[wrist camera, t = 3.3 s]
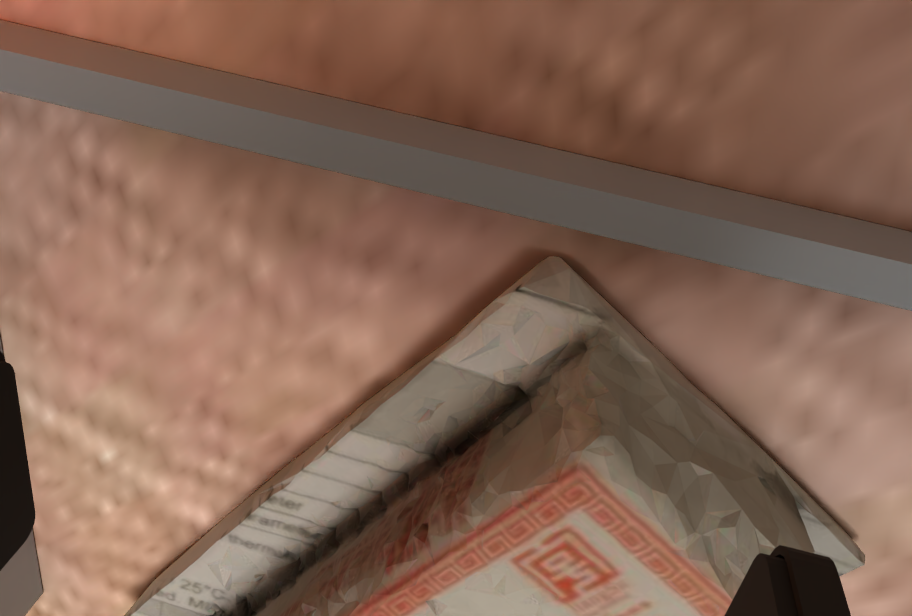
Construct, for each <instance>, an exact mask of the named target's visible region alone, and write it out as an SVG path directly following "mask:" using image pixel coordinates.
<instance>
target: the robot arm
mask: <svg viewBox="0 0 912 616" xmlns="http://www.w3.org/2000/svg"><path fill="white" fill-rule="evenodd" d="M34 521H35V508H34V501H33V494H32V488H31V481H30V474H29V467H28V460H27V454H26V447H25V440H24V433H23V427H22V420H21V413H20V406H19V399H18V393H17V386H16V379H15V373H14V369H13V367H12V366H11V365H10V364H9V363H6V361H5V358H4V355H3V353H2V352H1V351H0V571H1V570H2V568H3V567H4V566H5V565H6V564H7V563H8V561H9V560H10V559H11V558H12V557H13V556H14V554H15V553H16V552H17V551H18V550H19V549H20V547H21V546H22V545H23V544H24V542H25V541H26V540H27V538H28V537H29V535H30V533H31V531H32V528H33V525H34ZM725 616H851V615H850V611H849V608H848V605H847V601H846V598H845V594H844V591H843V588H842V584H841V581H840V577H839V574H838V571H837V568H836V566H835V563H834V561H833V560H832V559H831V558H830V557H826V556H822V555H818V554H814V553H810V552H807V551H803V550H799V549H795V548H791V547H787V546H781V545H779V546H777V547H776V548H775V549H774V550H773V552H772V553H771V554H770V555H767V554H763V553H759V554H758V555H757V556H756V557H755V559H754V560H753V562H752V564H751V566H750V568H749V570H748V572H747V574H746V575H745V577H744V579H743V581H742V583H741V585H740V587H739V589H738V591H737V593H736V595H735V596H734V598H733V600H732V602H731V604H730V606H729V608H728V610H727V612H726V614H725Z"/></svg>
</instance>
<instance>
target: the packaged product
mask: <svg viewBox="0 0 912 616" xmlns="http://www.w3.org/2000/svg"><path fill="white" fill-rule="evenodd" d="M779 545H781V546H787V547H791V548H795V549H799V550H803V551H807V552H810V553H814V554H818V555H822V556H826V557H830V558H831V559H832V560H833V561H834V563H835V566H836V568H837V571H838V574H839V576H841V575H843V574H846V573H848V572H850V571H852V570H854V569H856V568H858V567H860V566H862V565H864V563H865V555H864V553H863V552H862V551H861V550H860V548H859V547H858V546H857V545H856V544H855V542H854V541H853V540H852V539H851V537H850V536H849V535H848V534H847V533H846V532H845V531H844V530H843V529H842V528H841V527H840V526H839V525H838V524H837V523H836V522H835V521H834V520H833V519H832V518H831V517H830V516H829V515H828V514H827V513H826V512H825V511H824V510H823V509H822V508H821V507H820V506H819V505H818V504H817V503H816V502H815V501H814V500H813V499H812V498H811V497H810V496H809V495H808V494H807V493H806V492H805V491H804V490H803V489H802V488H801V487H800V486H799V485H798V484H797V483H796V482H795V481H794V480H793V479H792V478H791V477H790V476H789V475H788V474H787V473H786V472H785V471H784V470H783V469H782V468H781V467H780V466H779V465H778V464H777V463H776V462H775V461H774V460H773V459H772V458H770V457H769V456H768V455H767V454H766V453H765V452H764V451H763V450H762V449H761V448H760V447H759V446H758V445H757V444H756V443H755V442H754V441H753V440H752V439H751V438H750V437H749V436H748V435H747V434H746V433H745V432H744V431H743V430H742V429H741V428H740V427H739V426H738V425H737V424H736V423H734V422H733V421H732V420H731V419H730V418H729V417H728V416H727V415H726V414H725V413H724V412H723V411H722V410H721V409H720V408H719V407H718V406H717V405H716V404H714V403H713V402H712V401H711V400H710V399H709V398H707V397H706V396H705V395H704V394H703V393H702V392H701V391H699V390H698V389H697V388H696V387H695V386H694V385H692V384H691V383H690V382H689V381H688V380H687V379H686V378H685V377H684V376H683V375H682V374H681V373H680V372H679V371H678V370H677V368H676V367H675V366H674V365H673V364H672V363H671V362H670V361H669V360H668V359H667V358H666V357H665V356H664V355H663V354H662V353H661V352H660V351H659V350H658V349H657V348H656V347H655V346H653V345H652V344H651V343H650V342H649V341H648V340H647V339H646V338H645V337H644V336H643V335H642V334H641V333H640V332H639V331H638V330H636V329H635V328H634V327H633V326H632V325H631V324H630V323H629V322H628V321H627V320H626V319H625V318H624V317H623V316H622V315H621V314H620V313H618V312H617V311H616V310H615V309H614V308H613V307H612V306H611V305H610V304H609V303H608V302H607V301H606V300H605V299H604V298H603V297H601V296H600V295H599V294H598V293H597V292H596V291H595V290H594V289H593V288H592V287H591V286H590V285H589V284H588V283H587V282H586V281H585V280H583V279H582V278H581V277H580V276H579V275H578V274H577V273H576V272H575V271H574V270H573V269H572V268H571V267H570V266H569V265H568V264H566V263H565V262H564V261H563V260H562V259H561V258H560V257H553V256H549V257H547V258H546V259H544V260H543V261H541V262H540V263H539V264H537V265H536V266H535V267H534V268H532V269H531V270H530V271H529V272H528V273H526V274H525V275H524V276H523V277H522V278H520V279H519V280H518V281H517V282H515V283H514V284H513V285H512V286H511V287H509V288H508V289H507V290H506V291H505V292H503V293H502V294H501V295H500V296H499V297H497V298H496V299H495V300H494V301H493V302H491V303H490V304H489V305H488V306H487V307H486V308H485V309H483V310H482V311H481V312H480V313H479V314H478V315H477V316H476V317H474V318H473V319H472V320H471V321H470V322H469V323H468V324H467V325H466V326H465V327H463V328H462V329H461V330H460V331H459V332H458V333H457V334H456V335H455V336H453V337H452V338H451V339H449V340H448V341H447V342H445V343H444V344H442V345H441V346H440V347H438V348H437V349H436V350H434V351H433V352H432V353H430V354H429V355H428V356H426V357H425V358H424V359H422V360H421V361H420V362H418V363H417V364H416V365H414V366H413V367H411V368H410V369H409V370H407V371H406V372H405V373H403V374H402V375H401V376H399V377H398V378H397V379H395V380H394V381H393V382H391V383H390V384H389V385H387V386H386V387H385V388H383V389H382V390H381V391H379V392H378V393H376V394H375V395H374V396H372V397H371V398H370V399H368V400H367V401H366V402H365V403H363V404H362V405H361V406H360V407H359V408H358V409H357V410H356V411H354V412H353V413H352V414H351V415H350V416H348V417H347V418H346V419H345V420H343V421H342V422H341V423H340V424H338V425H337V426H336V427H335V428H333V429H332V430H331V431H330V432H328V433H327V434H326V435H325V436H323V437H322V438H321V439H320V440H318V441H317V442H316V443H315V444H313V445H312V446H311V447H310V448H309V449H307V450H306V451H305V452H304V453H302V454H301V455H300V456H298V457H297V458H296V459H294V460H293V461H292V462H291V463H289V464H288V465H287V466H285V467H284V468H283V469H282V470H280V471H279V472H278V473H277V474H276V475H274V476H273V477H272V478H271V479H270V480H269V481H267V482H266V483H265V484H264V485H263V486H261V487H260V488H259V489H258V490H257V491H255V492H254V493H253V494H252V495H251V496H249V497H248V498H247V499H246V500H245V501H244V502H243V503H242V504H240V505H239V506H238V507H237V508H236V509H234V510H233V511H232V512H231V513H229V514H228V515H227V516H226V517H225V518H223V519H222V520H221V521H220V522H219V523H218V524H217V525H216V526H214V527H213V528H212V529H211V530H210V531H209V532H208V533H207V534H205V535H204V536H203V537H202V538H201V539H200V540H199V541H198V542H196V543H195V544H194V545H193V546H192V547H191V548H190V549H189V550H188V551H186V552H185V553H184V554H183V555H182V556H181V557H180V558H179V559H177V560H176V561H175V562H174V563H173V564H172V565H171V566H170V567H168V568H167V569H166V570H165V571H164V572H163V573H162V574H161V575H159V576H158V577H157V578H156V579H155V580H154V581H153V582H152V583H151V584H150V586H149V587H148V588H147V589H146V590H145V592H144V593H143V594H142V595H141V596H140V598H139V599H138V600H137V601H136V602H135V604H134V605H133V606H132V607H131V608H130V610H129V611H128V612H127V613H126V614H125V616H725V614H726V612H727V610H728V608H729V606H730V604H731V602H732V600H733V598H734V596H735V595H736V593H737V591H738V589H739V587H740V585H741V583H742V581H743V579H744V577H745V575H746V574H747V572H748V570H749V568H750V566H751V564H752V562H753V560H754V559H755V557H756V556H757V555H758V554H759V553H763V554H767V555H770V554H771V553H772V552H773V550H774V549H775V548H776V547H777V546H779Z"/></svg>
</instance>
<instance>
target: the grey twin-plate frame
mask: <svg viewBox="0 0 912 616" xmlns="http://www.w3.org/2000/svg"><path fill="white" fill-rule="evenodd" d="M0 91H2V92H6V93H10V94H15V95H19V96H23V97H27V98H31V99H35V100H39V101H44V102H48V103H52V104H56V105H60V106H64V107H68V108H73V109H77V110H81V111H85V112H89V113H93V114H97V115H102V116H106V117H110V118H114V119H118V120H122V121H127V122H131V123H135V124H139V125H143V126H147V127H151V128H156V129H160V130H164V131H168V132H172V133H176V134H180V135H185V136H189V137H193V138H197V139H201V140H205V141H209V142H214V143H218V144H222V145H226V146H230V147H234V148H238V149H243V150H247V151H251V152H255V153H259V154H263V155H267V156H272V157H276V158H280V159H284V160H288V161H292V162H296V163H301V164H305V165H309V166H313V167H317V168H321V169H325V170H330V171H334V172H338V173H342V174H346V175H350V176H354V177H359V178H363V179H367V180H371V181H375V182H379V183H384V184H388V185H392V186H396V187H400V188H404V189H408V190H413V191H417V192H421V193H425V194H429V195H433V196H437V197H442V198H446V199H450V200H454V201H458V202H462V203H466V204H471V205H475V206H479V207H483V208H487V209H491V210H495V211H500V212H504V213H508V214H512V215H516V216H520V217H524V218H529V219H533V220H537V221H541V222H545V223H549V224H553V225H558V226H562V227H566V228H570V229H574V230H578V231H582V232H587V233H591V234H595V235H599V236H603V237H607V238H612V239H616V240H620V241H624V242H628V243H632V244H636V245H641V246H645V247H649V248H653V249H657V250H661V251H665V252H670V253H674V254H678V255H682V256H686V257H690V258H694V259H699V260H703V261H707V262H711V263H715V264H719V265H723V266H728V267H732V268H736V269H740V270H744V271H748V272H752V273H757V274H761V275H765V276H769V277H773V278H777V279H781V280H786V281H790V282H794V283H798V284H802V285H806V286H810V287H815V288H819V289H823V290H827V291H831V292H835V293H839V294H844V295H848V296H852V297H856V298H860V299H864V300H869V301H873V302H877V303H881V304H885V305H889V306H893V307H898V308H902V309H906V310H910V311H912V232H910V231H906V230H902V229H897V228H893V227H889V226H884V225H880V224H876V223H871V222H867V221H863V220H859V219H854V218H850V217H846V216H841V215H837V214H833V213H829V212H824V211H820V210H816V209H811V208H807V207H803V206H798V205H794V204H790V203H786V202H781V201H777V200H773V199H768V198H764V197H760V196H755V195H751V194H747V193H743V192H738V191H734V190H730V189H725V188H721V187H717V186H712V185H708V184H704V183H700V182H695V181H691V180H687V179H682V178H678V177H674V176H670V175H665V174H661V173H657V172H652V171H648V170H644V169H639V168H635V167H631V166H627V165H622V164H618V163H614V162H609V161H605V160H601V159H596V158H592V157H588V156H584V155H579V154H575V153H571V152H566V151H562V150H558V149H554V148H549V147H545V146H541V145H536V144H532V143H528V142H523V141H519V140H515V139H511V138H506V137H502V136H498V135H493V134H489V133H485V132H480V131H476V130H472V129H468V128H463V127H459V126H455V125H450V124H446V123H442V122H437V121H433V120H429V119H425V118H420V117H416V116H412V115H407V114H403V113H399V112H395V111H390V110H386V109H382V108H377V107H373V106H369V105H364V104H360V103H356V102H352V101H347V100H343V99H339V98H334V97H330V96H326V95H321V94H317V93H313V92H309V91H304V90H300V89H296V88H291V87H287V86H283V85H278V84H274V83H270V82H266V81H261V80H257V79H253V78H248V77H244V76H240V75H236V74H231V73H227V72H223V71H218V70H214V69H210V68H205V67H201V66H197V65H193V64H188V63H184V62H180V61H175V60H171V59H167V58H162V57H158V56H154V55H150V54H145V53H141V52H137V51H132V50H128V49H124V48H119V47H115V46H111V45H107V44H102V43H98V42H94V41H89V40H85V39H81V38H77V37H72V36H68V35H64V34H59V33H55V32H51V31H46V30H42V29H38V28H34V27H29V26H25V25H21V24H16V23H12V22H8V21H3V20H0ZM0 351H1V352H2V353H3V351H2V345H1V339H0ZM42 594H43V590H42V584H41V578H40V572H39V566H38V560H37V554H36V548H35V542H34V536H33V530H32V531H31V533H30V535H29V537H28V538H27V540H26V541H25V542H24V544H23V545H22V546H21V547H20V549H19V550H18V551H17V552H16V553H15V554H14V556H13V557H12V558H11V559H10V560H9V561H8V563H7V564H6V565H5V566H4V567H3V568H2V570H1V571H0V616H25V615H26V614H27V612H28V611H29V610H30V609H31V607H32V606H33V605H34V604H35V602H36V601H37V600H38V599H39V597H40V596H41V595H42Z"/></svg>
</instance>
